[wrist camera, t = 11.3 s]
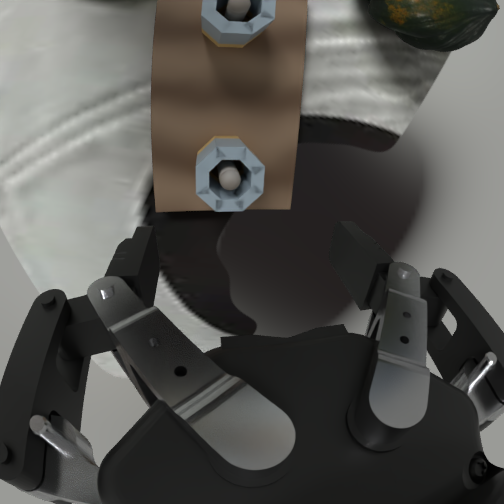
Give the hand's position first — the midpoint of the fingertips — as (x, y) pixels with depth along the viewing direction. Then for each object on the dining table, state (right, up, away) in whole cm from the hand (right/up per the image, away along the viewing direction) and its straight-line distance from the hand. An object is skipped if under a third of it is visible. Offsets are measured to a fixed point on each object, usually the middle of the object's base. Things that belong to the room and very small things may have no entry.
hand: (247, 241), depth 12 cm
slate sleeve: (-2, +8, +14) cm, 16 cm away
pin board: (-2, +15, +12) cm, 19 cm away
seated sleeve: (-2, +20, +7) cm, 21 cm away
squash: (+17, +30, +7) cm, 35 cm away
